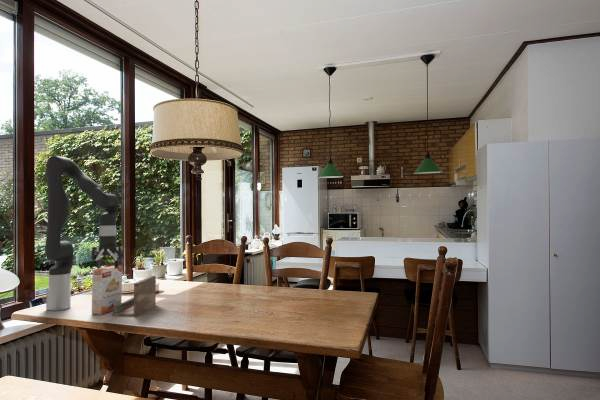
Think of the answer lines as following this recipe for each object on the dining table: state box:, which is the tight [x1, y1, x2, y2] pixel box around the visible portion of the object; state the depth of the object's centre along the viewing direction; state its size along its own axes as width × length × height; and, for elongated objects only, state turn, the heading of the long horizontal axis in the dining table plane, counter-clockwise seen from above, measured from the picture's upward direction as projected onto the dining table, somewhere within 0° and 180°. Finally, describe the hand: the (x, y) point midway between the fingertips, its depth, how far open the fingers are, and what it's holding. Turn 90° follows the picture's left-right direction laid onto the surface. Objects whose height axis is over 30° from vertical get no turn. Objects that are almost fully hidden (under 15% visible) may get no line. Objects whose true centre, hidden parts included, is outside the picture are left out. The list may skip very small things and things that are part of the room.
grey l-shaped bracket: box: [111, 275, 157, 317], centre depth 180 cm, size 12×20×15 cm, turn 179°
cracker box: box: [91, 265, 123, 316], centre depth 180 cm, size 14×6×21 cm, turn 168°
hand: (107, 268), depth 180 cm, fingers open, 8 cm apart
